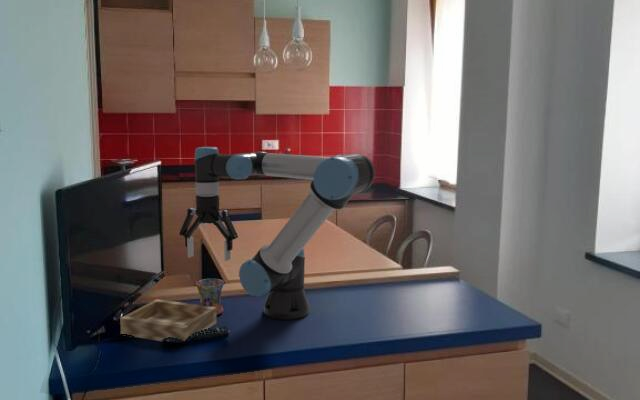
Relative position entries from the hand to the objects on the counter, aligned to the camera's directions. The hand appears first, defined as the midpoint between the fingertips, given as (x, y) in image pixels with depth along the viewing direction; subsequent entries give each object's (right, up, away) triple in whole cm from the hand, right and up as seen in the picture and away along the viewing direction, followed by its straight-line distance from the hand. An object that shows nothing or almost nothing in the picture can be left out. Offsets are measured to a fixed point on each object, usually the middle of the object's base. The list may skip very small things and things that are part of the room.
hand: (208, 258), depth 200 cm
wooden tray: (-10, -21, -13) cm, 26 cm away
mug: (0, -18, +3) cm, 19 cm away
